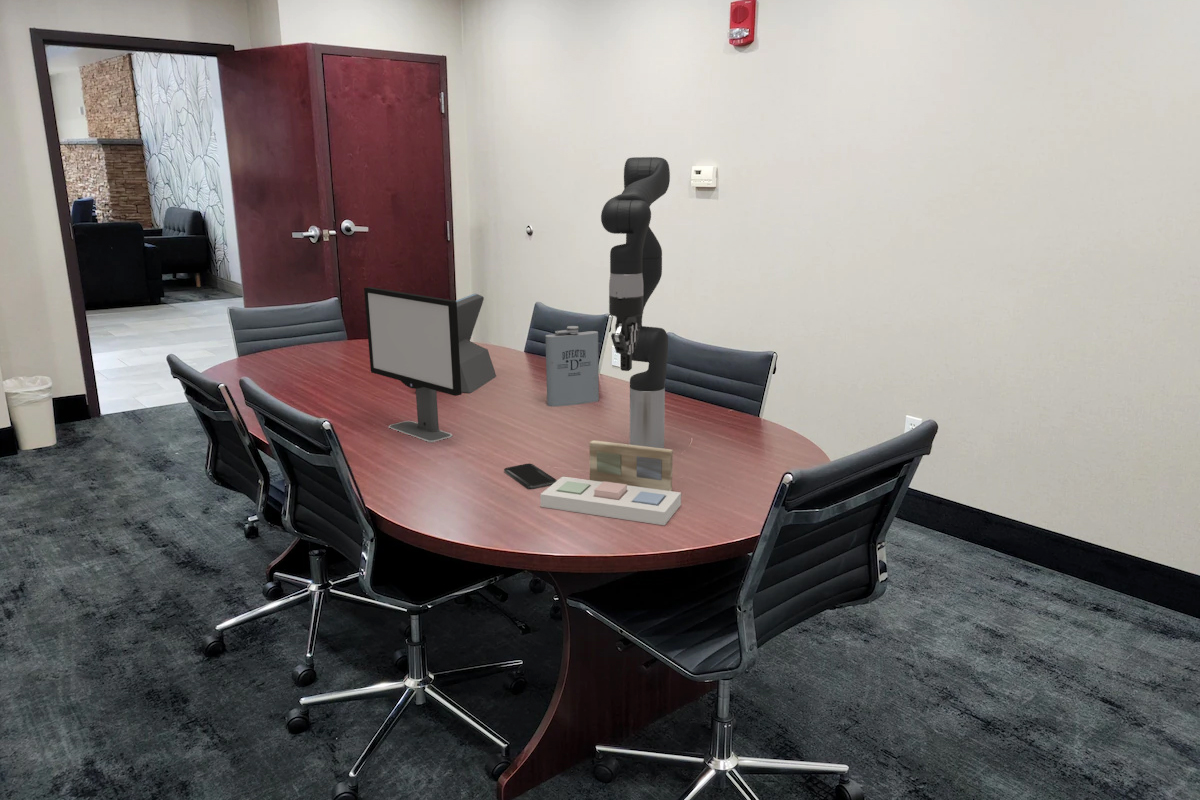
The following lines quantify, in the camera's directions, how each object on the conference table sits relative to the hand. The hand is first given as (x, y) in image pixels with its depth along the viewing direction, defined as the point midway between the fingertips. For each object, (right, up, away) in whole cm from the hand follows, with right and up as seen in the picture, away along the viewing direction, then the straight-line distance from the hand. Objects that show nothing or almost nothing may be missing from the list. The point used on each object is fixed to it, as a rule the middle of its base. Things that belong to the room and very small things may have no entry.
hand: (626, 370), depth 191 cm
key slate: (+5, -31, -5) cm, 31 cm away
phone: (-23, -26, +17) cm, 39 cm away
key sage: (-12, -29, +2) cm, 31 cm away
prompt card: (+1, -27, +10) cm, 29 cm away
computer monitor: (-58, -16, +53) cm, 80 cm away
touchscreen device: (-56, -1, +108) cm, 122 cm away
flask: (-14, -8, +82) cm, 84 cm away
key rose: (-4, -29, -2) cm, 29 cm away
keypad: (-4, -30, -1) cm, 31 cm away
